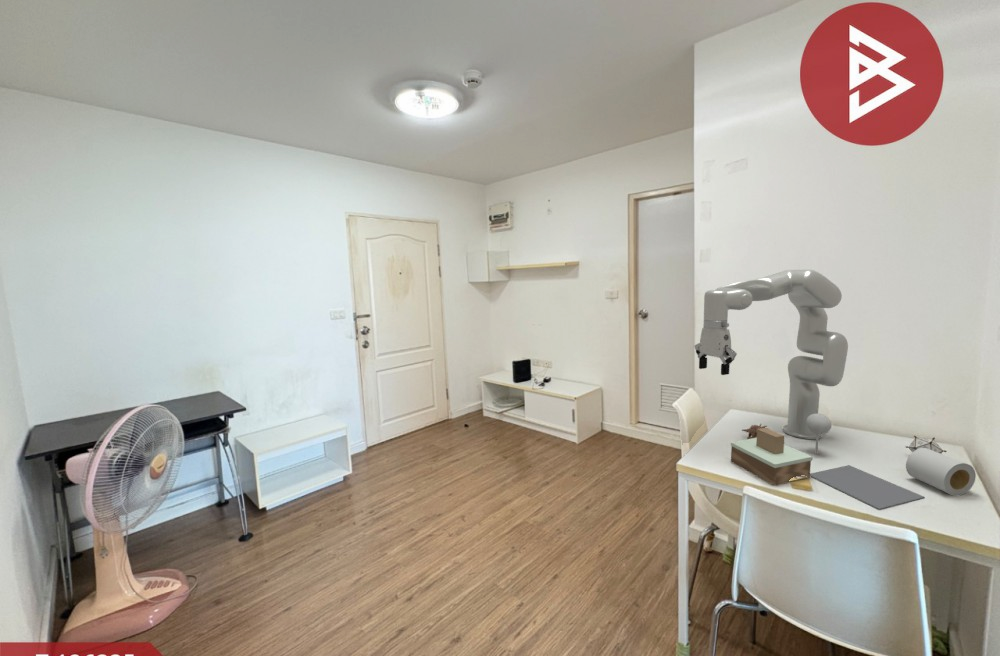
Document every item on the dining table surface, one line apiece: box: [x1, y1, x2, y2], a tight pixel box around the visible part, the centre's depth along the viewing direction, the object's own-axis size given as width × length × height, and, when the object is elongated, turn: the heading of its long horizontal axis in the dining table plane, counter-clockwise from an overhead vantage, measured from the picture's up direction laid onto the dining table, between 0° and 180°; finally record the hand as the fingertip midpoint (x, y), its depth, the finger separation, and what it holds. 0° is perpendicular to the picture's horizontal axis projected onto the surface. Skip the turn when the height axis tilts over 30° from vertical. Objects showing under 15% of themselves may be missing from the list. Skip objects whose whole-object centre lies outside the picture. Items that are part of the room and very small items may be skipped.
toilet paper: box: [905, 448, 977, 497], centre depth 119 cm, size 10×10×10 cm
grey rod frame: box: [905, 435, 948, 454], centre depth 135 cm, size 9×8×10 cm
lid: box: [730, 427, 813, 468], centre depth 133 cm, size 15×17×8 cm
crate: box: [730, 445, 812, 486], centre depth 134 cm, size 15×17×6 cm
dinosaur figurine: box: [741, 423, 769, 439], centre depth 153 cm, size 14×6×9 cm, turn 173°
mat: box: [810, 464, 925, 511], centre depth 122 cm, size 18×20×1 cm
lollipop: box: [806, 413, 832, 455], centre depth 142 cm, size 7×7×15 cm
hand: (713, 371), depth 144 cm, fingers open, 9 cm apart
